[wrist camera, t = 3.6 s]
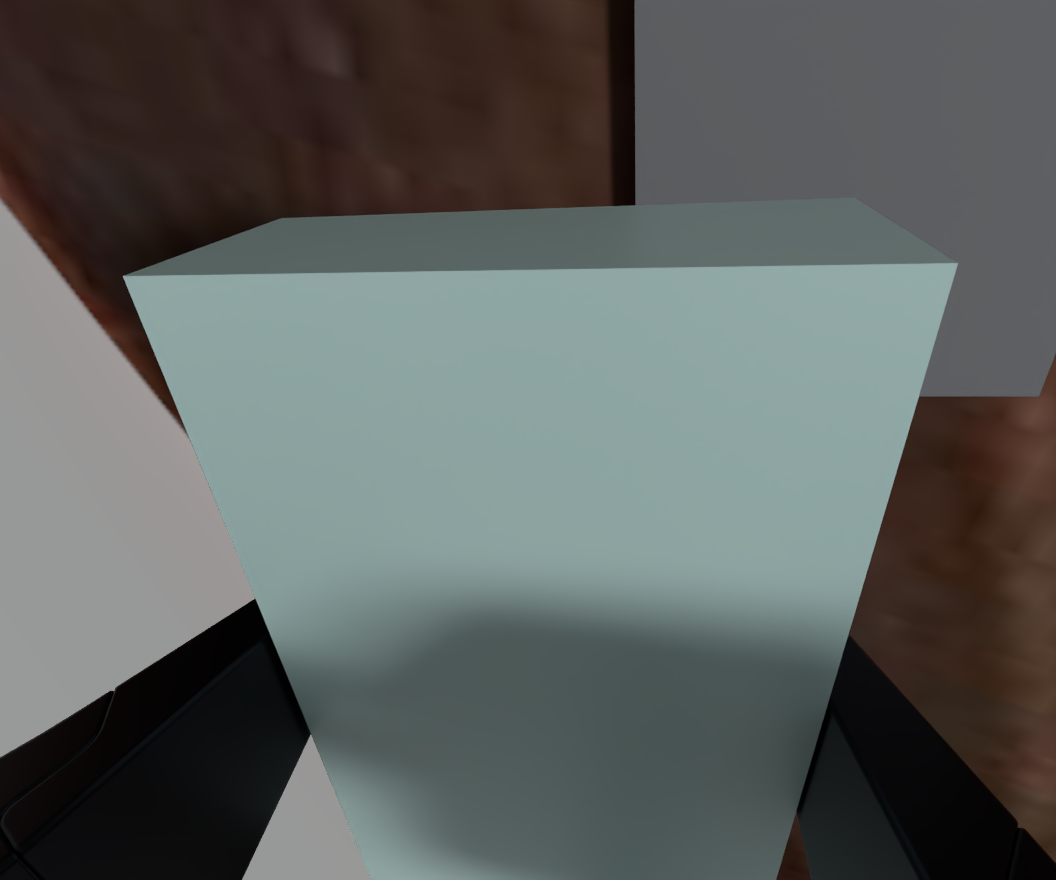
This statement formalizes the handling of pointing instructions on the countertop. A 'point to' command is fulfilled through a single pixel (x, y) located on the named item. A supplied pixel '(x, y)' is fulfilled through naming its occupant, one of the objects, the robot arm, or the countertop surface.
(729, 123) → the mat
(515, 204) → the countertop surface
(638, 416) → the pale teal block
